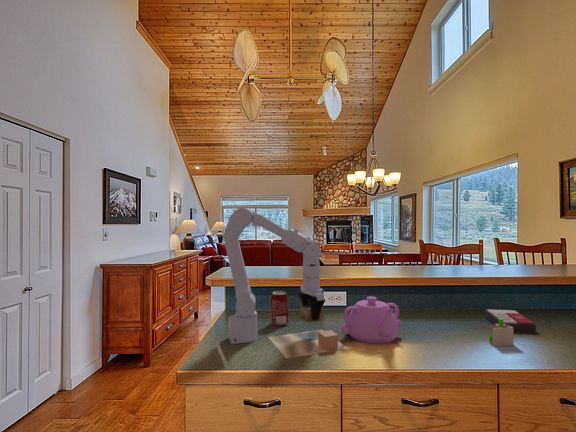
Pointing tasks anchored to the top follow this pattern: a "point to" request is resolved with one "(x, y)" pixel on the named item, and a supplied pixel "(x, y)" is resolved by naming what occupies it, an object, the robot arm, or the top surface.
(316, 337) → the beige flat square
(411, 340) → the top surface
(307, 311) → the walnut block
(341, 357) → the top surface
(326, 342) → the terracotta block
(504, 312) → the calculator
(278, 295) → the soda can
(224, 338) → the top surface
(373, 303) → the teapot
